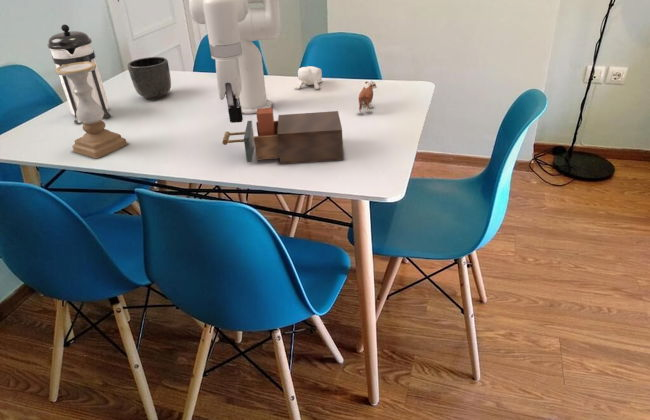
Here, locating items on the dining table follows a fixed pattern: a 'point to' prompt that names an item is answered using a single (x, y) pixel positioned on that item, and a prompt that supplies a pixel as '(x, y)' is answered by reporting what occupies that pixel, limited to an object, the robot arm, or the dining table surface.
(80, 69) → the candle holder
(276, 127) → the drawer
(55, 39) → the coffee press
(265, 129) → the block
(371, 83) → the bull figurine
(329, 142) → the cabinet
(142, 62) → the planter
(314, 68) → the white lamb toy
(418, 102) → the dining table surface
